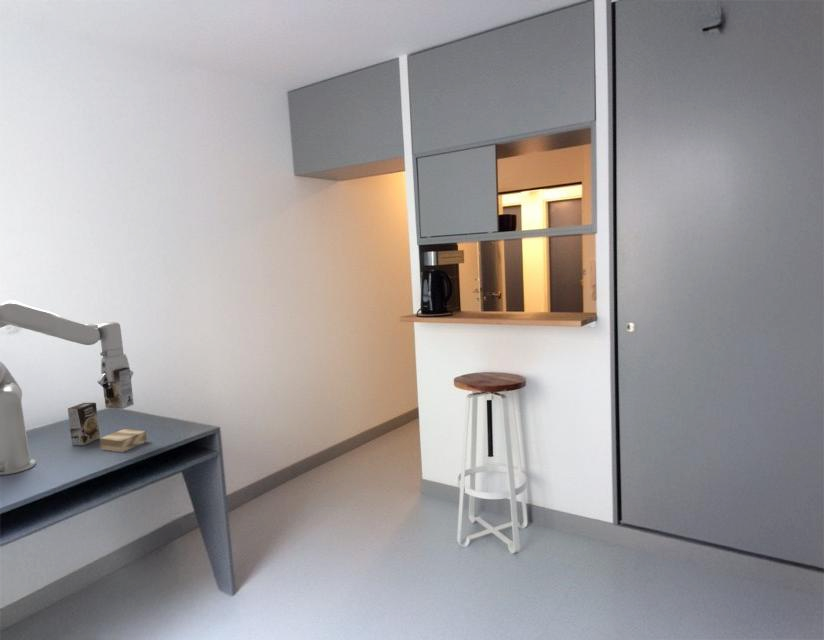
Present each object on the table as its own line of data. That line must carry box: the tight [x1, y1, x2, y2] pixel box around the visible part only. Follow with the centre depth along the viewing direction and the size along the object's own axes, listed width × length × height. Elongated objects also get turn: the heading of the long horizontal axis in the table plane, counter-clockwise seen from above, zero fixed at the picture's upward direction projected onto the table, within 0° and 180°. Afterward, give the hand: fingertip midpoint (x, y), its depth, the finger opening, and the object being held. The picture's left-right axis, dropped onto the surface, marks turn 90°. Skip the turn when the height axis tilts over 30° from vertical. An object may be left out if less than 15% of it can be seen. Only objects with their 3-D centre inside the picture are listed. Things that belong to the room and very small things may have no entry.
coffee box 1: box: [67, 402, 101, 446], centre depth 227 cm, size 9×6×16 cm
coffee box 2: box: [102, 367, 135, 410], centre depth 218 cm, size 9×6×16 cm
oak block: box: [99, 428, 148, 453], centre depth 221 cm, size 12×12×5 cm
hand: (118, 394), depth 219 cm, fingers closed on coffee box 2, 6 cm apart
